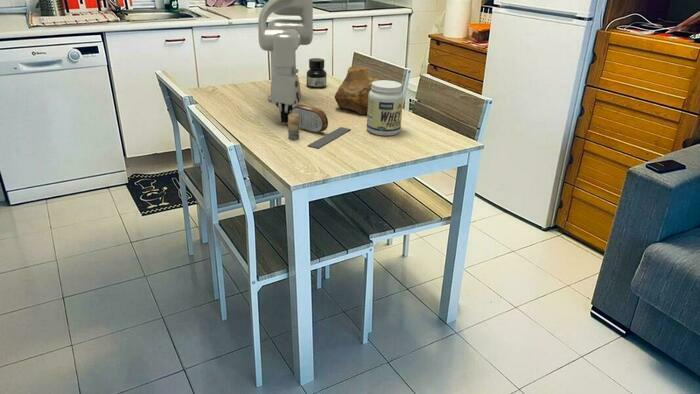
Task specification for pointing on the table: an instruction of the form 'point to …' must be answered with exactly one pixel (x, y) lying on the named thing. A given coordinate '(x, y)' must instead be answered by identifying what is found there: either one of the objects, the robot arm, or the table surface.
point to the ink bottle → (316, 74)
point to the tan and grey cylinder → (293, 126)
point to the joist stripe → (329, 138)
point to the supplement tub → (385, 108)
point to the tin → (310, 118)
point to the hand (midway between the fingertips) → (285, 121)
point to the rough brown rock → (355, 90)
